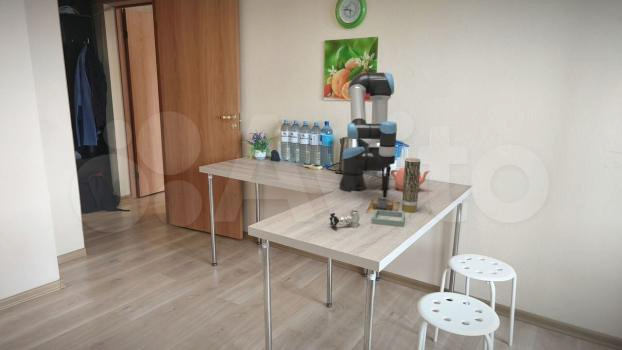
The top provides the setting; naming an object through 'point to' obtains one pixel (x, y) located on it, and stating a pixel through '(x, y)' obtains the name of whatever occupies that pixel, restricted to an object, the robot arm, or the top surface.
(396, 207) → the board
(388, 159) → the robot arm
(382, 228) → the top surface
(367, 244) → the top surface
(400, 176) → the teapot
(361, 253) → the top surface
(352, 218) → the valve
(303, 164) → the top surface
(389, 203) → the walnut plate
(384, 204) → the block
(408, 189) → the log cylinder
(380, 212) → the tray
